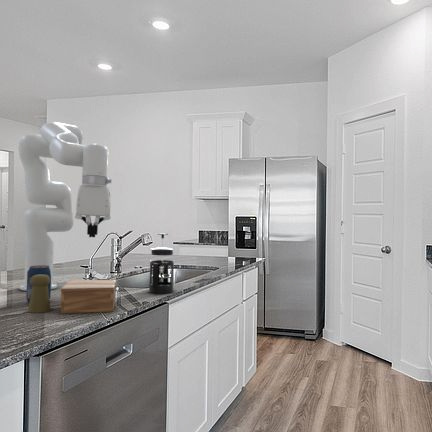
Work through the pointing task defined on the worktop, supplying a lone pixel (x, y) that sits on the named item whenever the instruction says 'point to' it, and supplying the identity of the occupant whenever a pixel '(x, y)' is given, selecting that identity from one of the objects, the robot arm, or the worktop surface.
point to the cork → (39, 294)
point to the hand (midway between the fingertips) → (92, 236)
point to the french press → (163, 286)
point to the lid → (89, 285)
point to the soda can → (36, 271)
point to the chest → (88, 301)
